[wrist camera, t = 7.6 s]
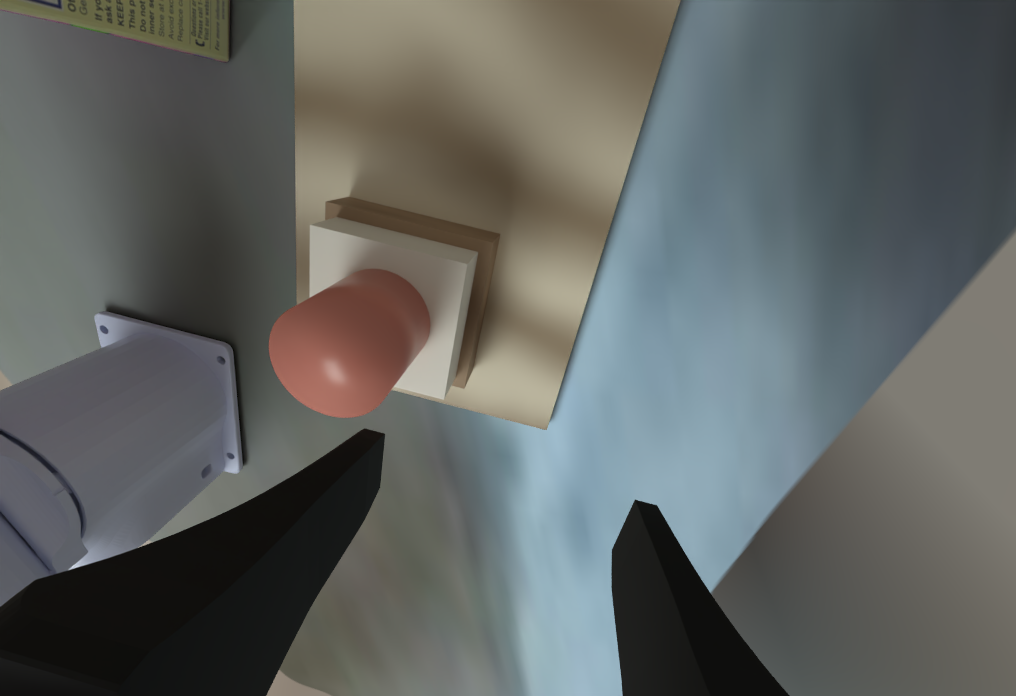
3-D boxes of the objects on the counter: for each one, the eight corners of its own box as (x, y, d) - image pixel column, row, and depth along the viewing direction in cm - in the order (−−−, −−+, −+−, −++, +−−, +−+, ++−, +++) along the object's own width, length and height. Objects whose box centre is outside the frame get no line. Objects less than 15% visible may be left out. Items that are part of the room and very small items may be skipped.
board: (547, 423, 23) (546, 430, 23) (303, 360, 24) (297, 365, 23) (744, -212, 13) (751, -227, 12) (302, -301, 13) (290, -320, 13)
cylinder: (423, 374, 18) (384, 431, 14) (331, 348, 18) (270, 399, 14) (437, 284, 16) (398, 322, 12) (335, 256, 16) (267, 287, 13)
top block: (455, 377, 20) (443, 399, 18) (332, 345, 20) (308, 364, 18) (478, 252, 17) (467, 263, 16) (336, 216, 18) (309, 224, 16)
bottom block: (473, 369, 22) (464, 389, 20) (342, 335, 22) (322, 351, 20) (500, 233, 19) (492, 242, 17) (348, 196, 19) (325, 201, 17)
